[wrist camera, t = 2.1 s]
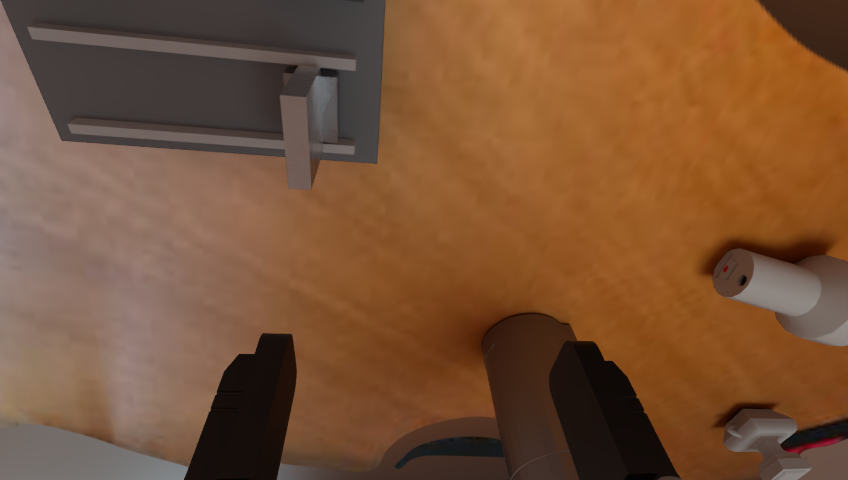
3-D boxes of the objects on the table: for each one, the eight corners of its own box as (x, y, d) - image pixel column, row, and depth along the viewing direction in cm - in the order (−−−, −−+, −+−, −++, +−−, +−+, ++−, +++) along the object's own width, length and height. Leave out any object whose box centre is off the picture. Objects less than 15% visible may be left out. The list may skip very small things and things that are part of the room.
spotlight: (786, 315, 45) (850, 366, 37) (686, 286, 44) (730, 332, 37) (837, 250, 41) (918, 292, 34) (729, 217, 41) (787, 253, 34)
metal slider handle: (339, 63, 25) (325, 99, 20) (339, 142, 28) (328, 190, 23) (286, 57, 24) (259, 93, 19) (292, 138, 27) (270, 187, 22)
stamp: (788, 402, 58) (839, 464, 52) (760, 427, 62) (804, 488, 56) (730, 401, 57) (774, 465, 51) (704, 426, 61) (743, 489, 55)
